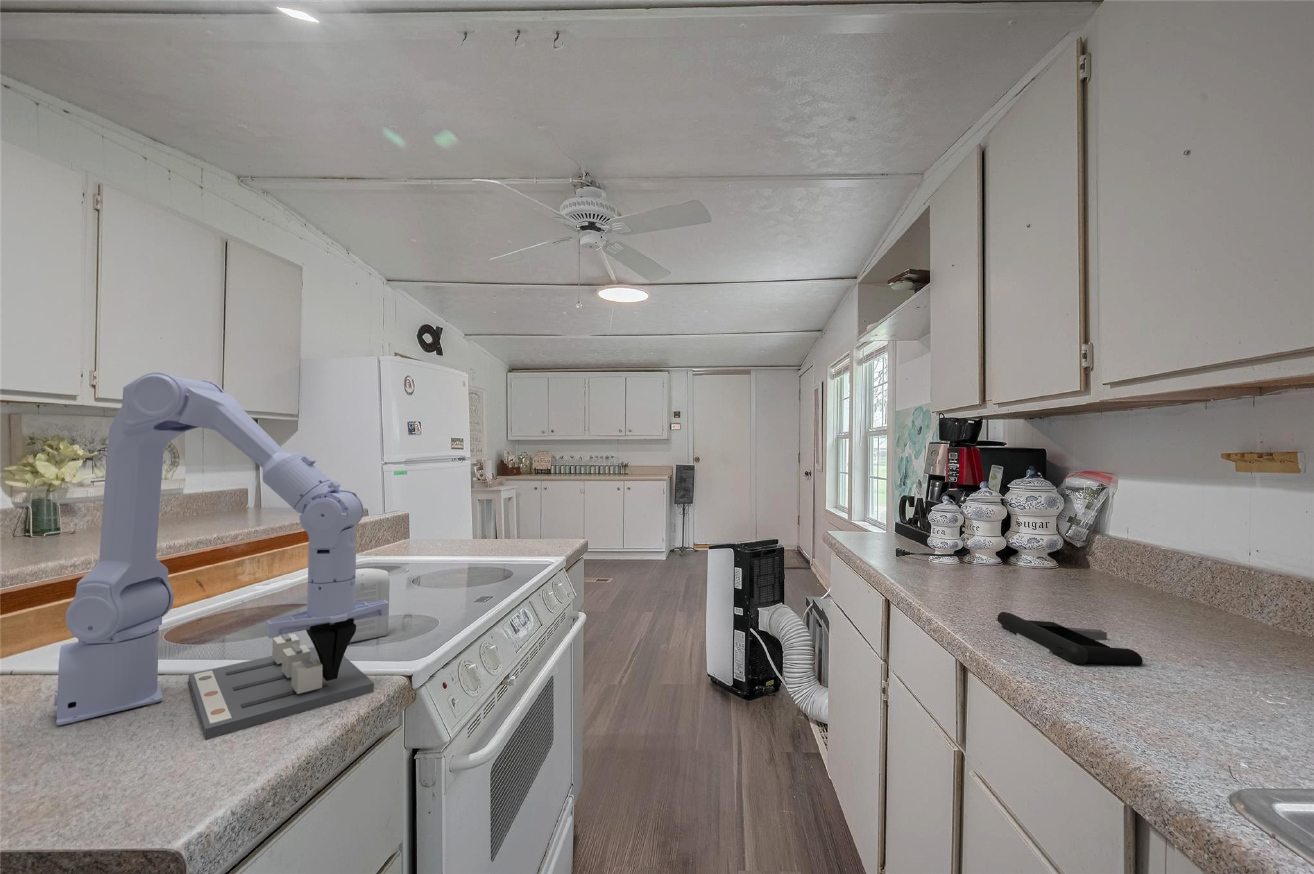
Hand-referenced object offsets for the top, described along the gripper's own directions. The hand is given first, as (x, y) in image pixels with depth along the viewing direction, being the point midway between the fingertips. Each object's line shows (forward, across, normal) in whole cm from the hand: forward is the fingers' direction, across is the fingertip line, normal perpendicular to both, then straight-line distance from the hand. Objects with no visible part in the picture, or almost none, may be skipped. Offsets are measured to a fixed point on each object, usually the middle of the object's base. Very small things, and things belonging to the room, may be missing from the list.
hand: (330, 677), depth 75 cm
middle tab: (0, -3, +7) cm, 7 cm away
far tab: (0, -3, +14) cm, 14 cm away
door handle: (+2, +96, -69) cm, 119 cm away
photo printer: (+2, +9, +21) cm, 23 cm away
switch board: (+2, -5, +7) cm, 9 cm away
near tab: (0, -3, 0) cm, 3 cm away
